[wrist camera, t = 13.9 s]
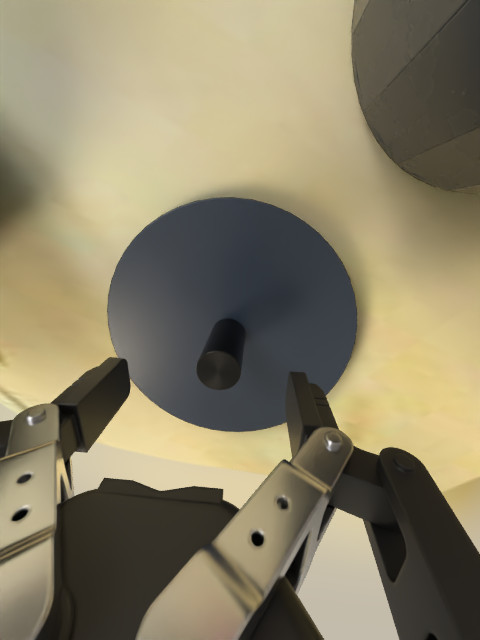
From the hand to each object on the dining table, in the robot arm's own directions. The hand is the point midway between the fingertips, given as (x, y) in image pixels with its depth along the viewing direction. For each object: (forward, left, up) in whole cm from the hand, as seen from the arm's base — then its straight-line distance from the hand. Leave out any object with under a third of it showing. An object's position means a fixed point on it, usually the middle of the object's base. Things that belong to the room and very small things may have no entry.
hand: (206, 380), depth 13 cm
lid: (0, 0, -7) cm, 7 cm away
